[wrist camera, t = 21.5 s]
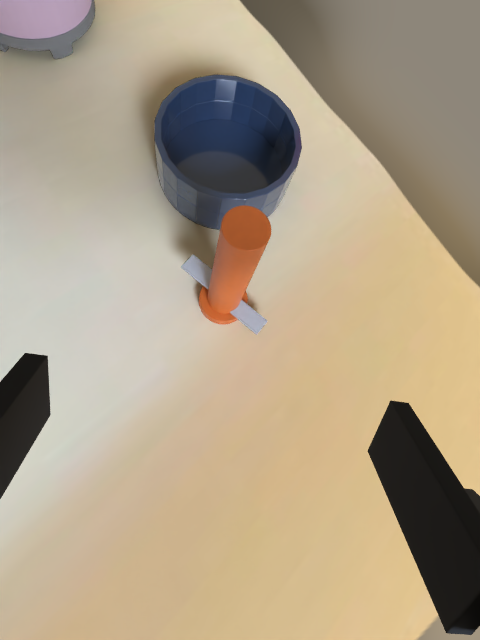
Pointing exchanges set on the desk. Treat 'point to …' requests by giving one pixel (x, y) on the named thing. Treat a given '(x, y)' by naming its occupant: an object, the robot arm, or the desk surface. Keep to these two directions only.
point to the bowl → (224, 147)
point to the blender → (44, 24)
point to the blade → (232, 268)
